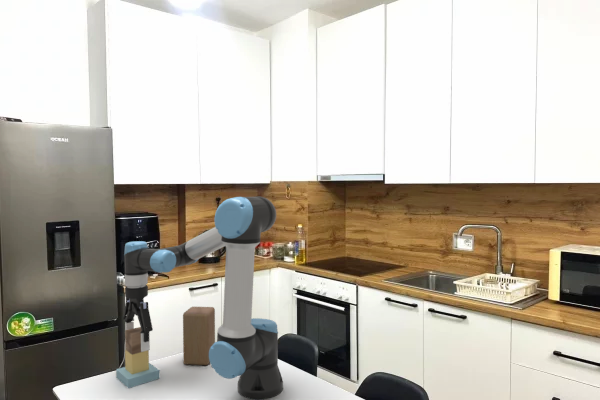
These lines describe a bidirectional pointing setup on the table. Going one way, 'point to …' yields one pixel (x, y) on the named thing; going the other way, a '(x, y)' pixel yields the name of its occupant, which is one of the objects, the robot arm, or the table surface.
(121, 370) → the base brick
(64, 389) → the table surface
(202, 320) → the wooden block
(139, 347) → the brick
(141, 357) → the brick
